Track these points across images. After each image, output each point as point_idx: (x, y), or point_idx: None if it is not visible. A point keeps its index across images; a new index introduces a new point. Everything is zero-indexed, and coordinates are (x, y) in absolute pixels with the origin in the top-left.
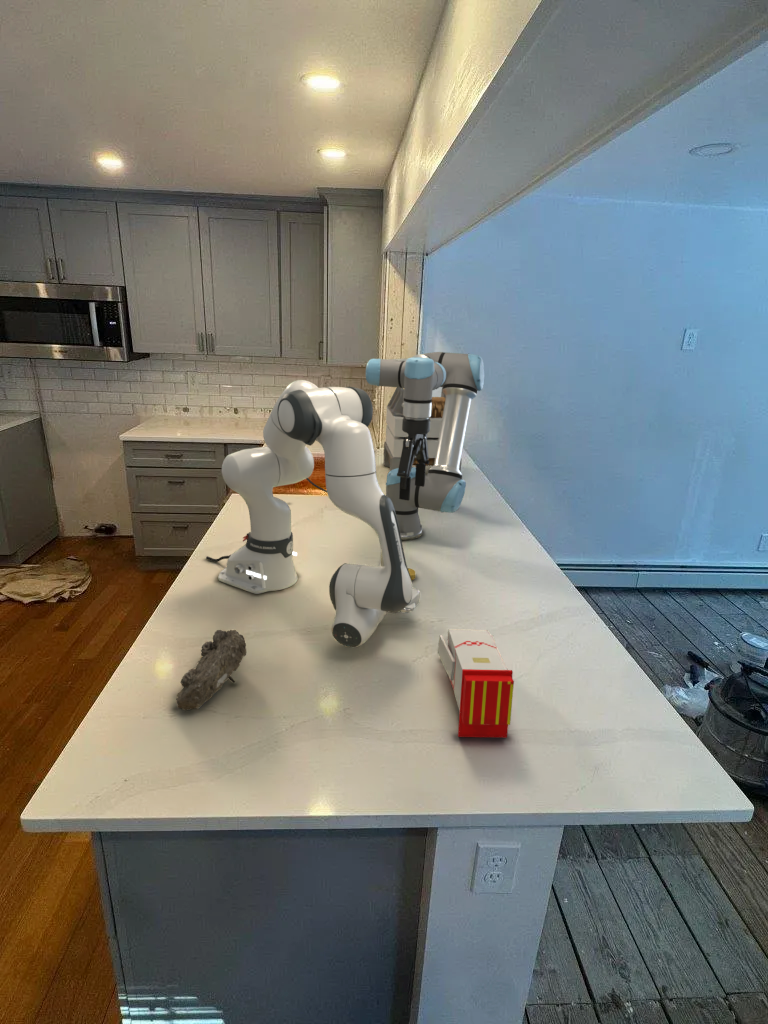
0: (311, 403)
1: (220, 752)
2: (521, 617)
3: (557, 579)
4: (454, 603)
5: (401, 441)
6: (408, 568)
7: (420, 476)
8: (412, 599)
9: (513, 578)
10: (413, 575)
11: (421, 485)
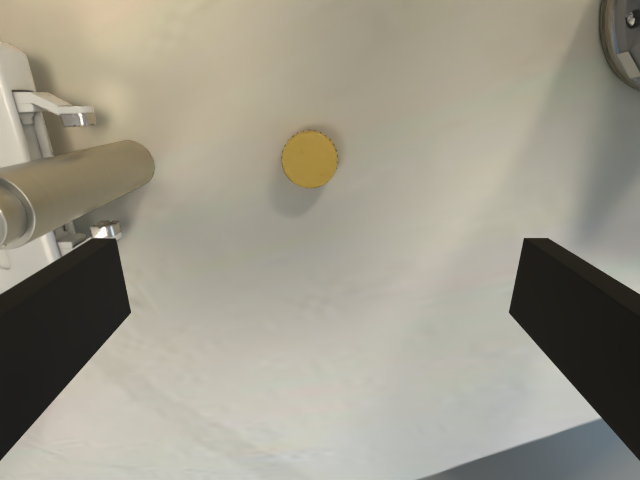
0: None
1: None
2: (243, 430)
3: (448, 465)
4: (229, 310)
5: None
6: (334, 158)
7: (571, 334)
8: (2, 292)
9: (418, 394)
10: (301, 185)
11: (517, 299)
